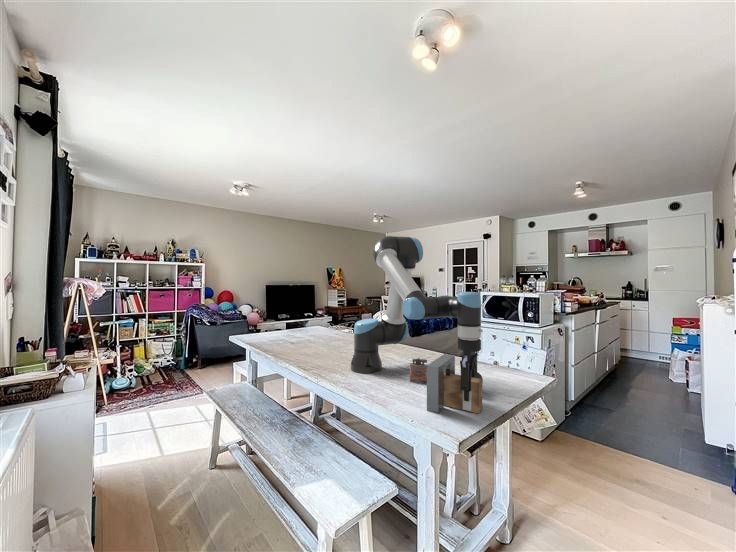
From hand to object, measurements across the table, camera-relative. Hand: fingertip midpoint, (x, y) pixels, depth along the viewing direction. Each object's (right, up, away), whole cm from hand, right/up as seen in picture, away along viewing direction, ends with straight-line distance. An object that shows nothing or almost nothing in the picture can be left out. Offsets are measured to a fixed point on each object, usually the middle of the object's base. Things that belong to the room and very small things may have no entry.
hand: (469, 406), depth 105 cm
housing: (-8, -1, +5) cm, 10 cm away
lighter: (-13, -1, +26) cm, 29 cm away
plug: (-2, 0, +2) cm, 3 cm away
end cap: (+6, -1, +16) cm, 17 cm away
